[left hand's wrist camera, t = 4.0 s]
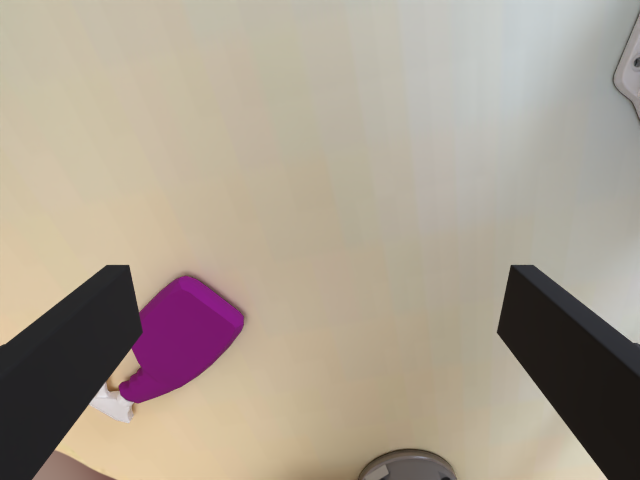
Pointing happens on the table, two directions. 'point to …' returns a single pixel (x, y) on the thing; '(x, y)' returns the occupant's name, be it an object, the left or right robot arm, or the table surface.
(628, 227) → the table surface
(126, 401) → the spray bottle
